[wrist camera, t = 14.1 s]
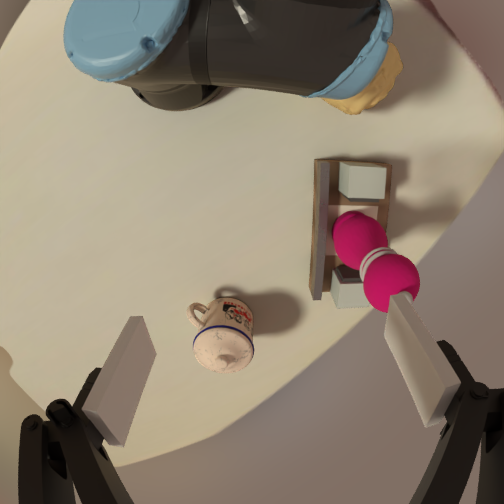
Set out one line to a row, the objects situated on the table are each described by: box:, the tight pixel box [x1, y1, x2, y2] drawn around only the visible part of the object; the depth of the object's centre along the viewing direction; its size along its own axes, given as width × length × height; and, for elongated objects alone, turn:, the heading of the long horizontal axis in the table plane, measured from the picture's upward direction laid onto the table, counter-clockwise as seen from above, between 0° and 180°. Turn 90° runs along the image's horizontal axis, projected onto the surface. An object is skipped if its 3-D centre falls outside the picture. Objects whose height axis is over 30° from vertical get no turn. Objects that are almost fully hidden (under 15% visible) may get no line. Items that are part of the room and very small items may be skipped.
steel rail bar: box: [311, 161, 330, 300], centre depth 42 cm, size 20×1×2 cm, turn 1°
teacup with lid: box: [187, 298, 254, 373], centre depth 46 cm, size 12×9×12 cm
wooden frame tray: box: [309, 159, 392, 292], centre depth 44 cm, size 20×11×2 cm, turn 1°
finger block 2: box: [330, 266, 370, 309], centre depth 44 cm, size 5×5×5 cm
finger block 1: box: [338, 162, 386, 202], centre depth 38 cm, size 5×5×5 cm
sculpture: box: [320, 42, 403, 115], centre depth 31 cm, size 12×12×11 cm
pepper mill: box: [332, 211, 420, 313], centre depth 34 cm, size 7×7×20 cm
